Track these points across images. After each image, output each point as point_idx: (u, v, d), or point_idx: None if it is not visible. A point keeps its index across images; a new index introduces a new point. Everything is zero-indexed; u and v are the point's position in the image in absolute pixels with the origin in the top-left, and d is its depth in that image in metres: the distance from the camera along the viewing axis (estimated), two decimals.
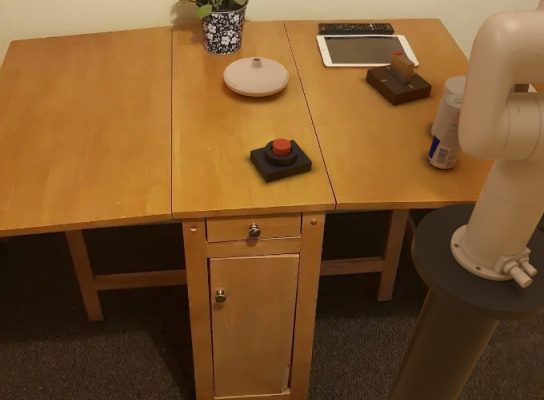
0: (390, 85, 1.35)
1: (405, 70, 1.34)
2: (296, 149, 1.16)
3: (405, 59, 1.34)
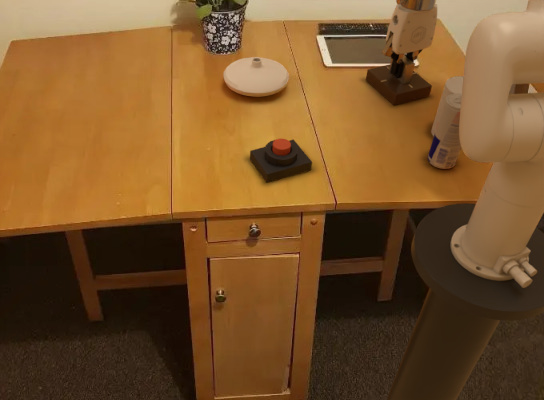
0: (390, 85, 1.35)
1: (405, 70, 1.34)
2: (296, 149, 1.16)
3: (405, 59, 1.34)
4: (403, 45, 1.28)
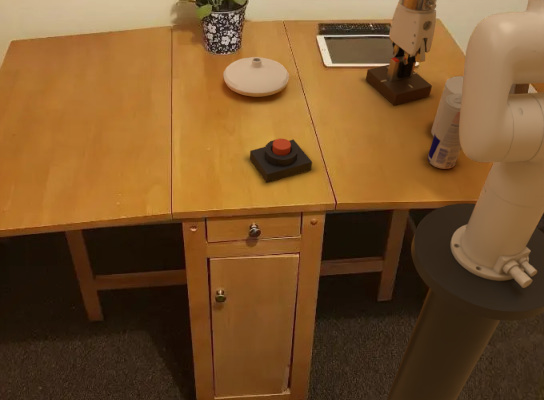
0: (390, 85, 1.35)
1: (413, 64, 1.36)
2: (296, 149, 1.16)
3: None
4: None
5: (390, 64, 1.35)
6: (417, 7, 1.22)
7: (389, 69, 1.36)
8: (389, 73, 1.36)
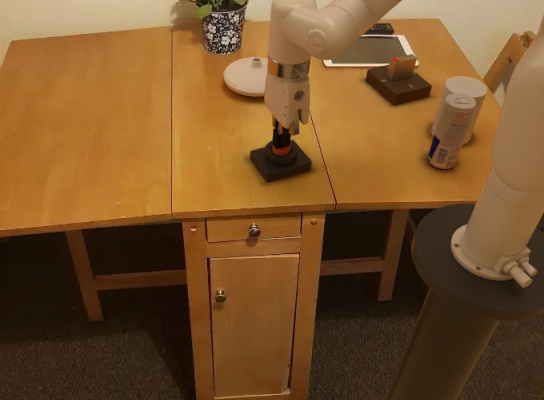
0: (390, 85, 1.35)
1: (413, 64, 1.36)
2: (296, 149, 1.16)
3: (406, 57, 1.35)
4: None
5: (390, 64, 1.35)
6: (284, 75, 1.01)
7: (389, 69, 1.36)
8: (389, 73, 1.36)
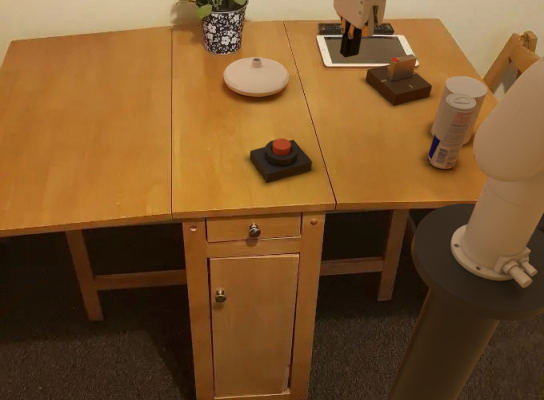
0: (390, 85, 1.35)
1: (413, 64, 1.36)
2: (296, 149, 1.16)
3: (406, 57, 1.35)
4: None
5: (390, 64, 1.35)
6: None
7: (389, 69, 1.36)
8: (389, 73, 1.36)
